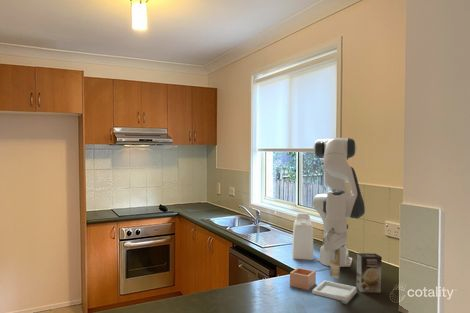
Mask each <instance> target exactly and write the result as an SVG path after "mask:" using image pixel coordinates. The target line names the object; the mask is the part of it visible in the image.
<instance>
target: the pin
mask: <svg viewBox="0 0 470 313" xmlns="http://www.w3.org/2000/svg"><path fill="white" fill-rule="evenodd" d="M335 256H336V259H335V260H331V255H330V266H329V269H330V270H329V276H330V278H332V279H339V278H340V272H341V271H340V269H341V267H340V249H337V250H335Z"/></svg>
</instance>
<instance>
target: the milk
mask: <svg viewBox="0 0 470 313" xmlns="http://www.w3.org/2000/svg"><path fill="white" fill-rule="evenodd" d="M311 220H312V219H311V218H310V214H309V213H308V212H307V213H306V212H298V213H297V215H296V216H295V220H294V221H293V227H292V228H293V229H292V243H291V244H292V245H291V257H292V259H294V260H309V261H310V260H314V259H315V258H314V257H315V256H314V227H313V223H312V221H311Z"/></svg>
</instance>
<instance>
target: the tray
mask: <svg viewBox="0 0 470 313" xmlns="http://www.w3.org/2000/svg"><path fill="white" fill-rule="evenodd" d="M357 292H358V289H357V287H356V286H353V285H348V284H343V283H339V282H334V281H330V280H325V279H324V280H323V281H321V282H320V283H319V284H318V285H317V286H315V287H314V288H312V290H311V294H313V295H316V296H321V297H325V298H329V299H333V300H338V301H339V303H341V304H345V305H348V303H349V302H350V301H351V300H352V299H353V297H354V296H355V295H356V294H357Z"/></svg>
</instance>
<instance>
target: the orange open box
mask: <svg viewBox="0 0 470 313" xmlns="http://www.w3.org/2000/svg"><path fill="white" fill-rule="evenodd" d="M316 272H317V271H316V270H311V269H306V268H303V267H297V268H295V269H294V270H292V271H290V272H289V287H293V288H299V289H302V290H305V291H306V290H307V291H309V290H310V289H311V288H312V287H314V286H315V285H316V284H317V283H316V282H317V281H316V280H317V276H316V275H317V273H316Z"/></svg>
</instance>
